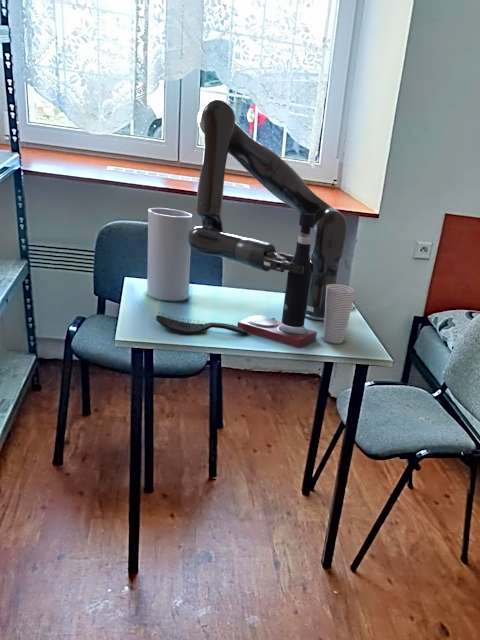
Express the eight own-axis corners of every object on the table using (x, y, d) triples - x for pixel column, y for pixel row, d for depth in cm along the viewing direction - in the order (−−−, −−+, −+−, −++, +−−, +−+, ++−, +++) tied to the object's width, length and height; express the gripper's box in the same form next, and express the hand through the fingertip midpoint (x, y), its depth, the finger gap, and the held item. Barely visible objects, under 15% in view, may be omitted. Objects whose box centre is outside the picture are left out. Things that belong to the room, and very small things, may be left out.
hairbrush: (250, 329, 181) (156, 317, 173) (248, 342, 183) (155, 330, 175) (246, 320, 188) (156, 308, 180) (245, 332, 190) (155, 321, 182)
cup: (344, 347, 190) (353, 294, 183) (316, 341, 191) (323, 288, 183) (349, 339, 198) (357, 287, 190) (321, 333, 198) (329, 282, 191)
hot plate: (258, 321, 199) (259, 312, 197) (317, 338, 193) (318, 329, 192) (237, 329, 189) (238, 319, 187) (298, 347, 183) (299, 338, 182)
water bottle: (307, 324, 189) (323, 215, 175) (298, 328, 184) (314, 216, 169) (287, 318, 190) (301, 209, 176) (277, 323, 185) (291, 211, 171)
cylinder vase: (187, 303, 203) (191, 219, 191) (145, 299, 200) (146, 213, 188) (188, 293, 213) (192, 212, 201) (148, 288, 210) (149, 206, 198)
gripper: (242, 242, 176) (298, 258, 171) (269, 238, 188) (322, 252, 183) (240, 271, 179) (294, 286, 175) (266, 264, 191) (318, 279, 187)
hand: (308, 269), depth 179 cm, fingers closed on water bottle, 6 cm apart
